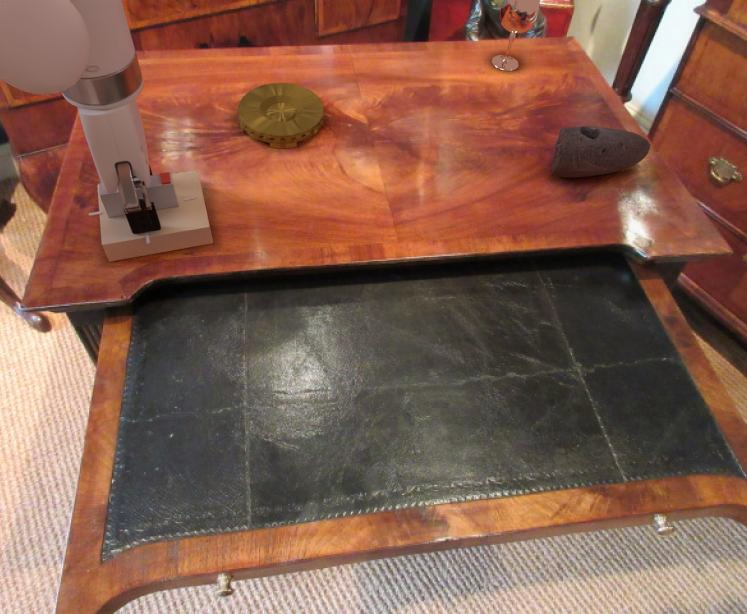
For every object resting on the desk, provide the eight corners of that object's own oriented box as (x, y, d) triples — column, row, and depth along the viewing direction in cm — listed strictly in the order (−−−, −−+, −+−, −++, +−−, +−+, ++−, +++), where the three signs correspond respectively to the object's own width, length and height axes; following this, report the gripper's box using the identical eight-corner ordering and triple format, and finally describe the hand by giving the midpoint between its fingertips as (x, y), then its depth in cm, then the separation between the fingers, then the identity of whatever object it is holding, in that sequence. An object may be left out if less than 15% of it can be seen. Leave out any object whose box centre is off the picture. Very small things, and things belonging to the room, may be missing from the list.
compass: (340, 118, 88) (340, 106, 87) (286, 160, 82) (285, 147, 81) (278, 85, 92) (277, 72, 90) (222, 123, 86) (220, 110, 84)
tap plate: (99, 270, 69) (91, 253, 67) (94, 197, 76) (86, 178, 73) (214, 250, 72) (210, 232, 70) (200, 181, 79) (196, 162, 76)
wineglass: (513, 51, 102) (533, -22, 92) (528, 70, 99) (550, -2, 89) (482, 55, 101) (499, -18, 91) (496, 75, 97) (516, 1, 88)
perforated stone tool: (632, 156, 88) (653, 116, 82) (646, 181, 85) (669, 141, 79) (534, 160, 86) (549, 119, 80) (545, 186, 83) (562, 145, 77)
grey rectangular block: (108, 217, 70) (98, 193, 67) (107, 205, 71) (97, 181, 68) (179, 206, 72) (172, 182, 69) (177, 194, 73) (170, 170, 70)
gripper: (55, 27, 61) (106, 163, 75) (57, 136, 52) (115, 267, 66) (132, 20, 63) (168, 154, 77) (148, 124, 53) (185, 255, 68)
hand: (143, 205), depth 71 cm, fingers closed on tap plate, 7 cm apart
